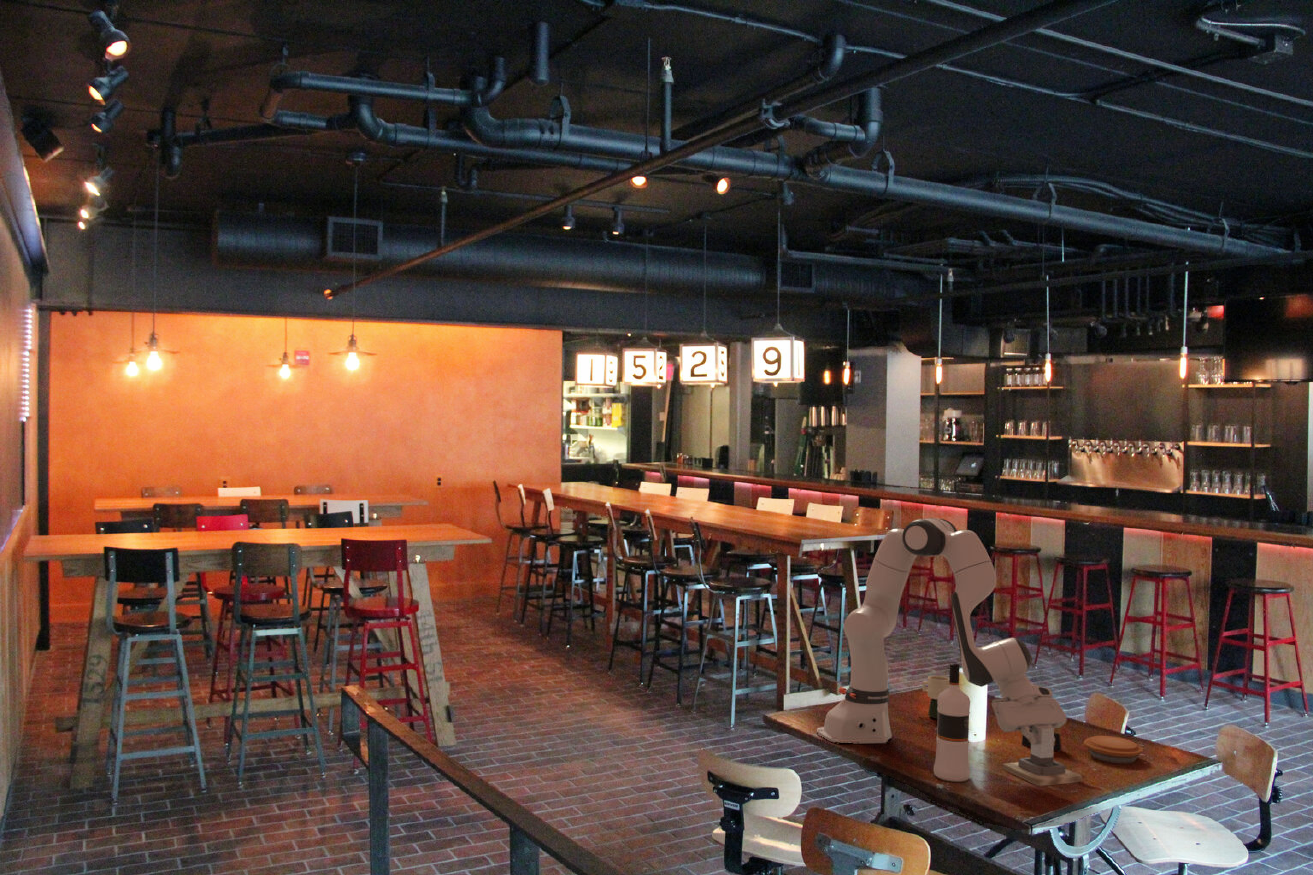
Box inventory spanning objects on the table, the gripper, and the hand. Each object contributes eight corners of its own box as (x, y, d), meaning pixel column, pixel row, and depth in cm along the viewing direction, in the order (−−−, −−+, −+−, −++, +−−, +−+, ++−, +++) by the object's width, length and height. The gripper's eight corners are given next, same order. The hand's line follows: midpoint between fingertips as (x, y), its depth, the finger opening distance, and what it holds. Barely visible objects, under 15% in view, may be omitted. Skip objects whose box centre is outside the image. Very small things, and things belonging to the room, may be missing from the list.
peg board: (1038, 786, 258) (1038, 772, 258) (1002, 769, 271) (1003, 756, 271) (1081, 781, 263) (1081, 768, 263) (1044, 765, 276) (1044, 752, 276)
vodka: (929, 770, 268) (932, 659, 268) (964, 771, 268) (967, 660, 268) (938, 782, 259) (942, 666, 259) (974, 783, 259) (977, 667, 259)
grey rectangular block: (1040, 766, 265) (1041, 729, 265) (1030, 762, 268) (1031, 725, 268) (1053, 765, 266) (1054, 728, 266) (1042, 760, 270) (1043, 724, 270)
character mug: (958, 718, 322) (959, 678, 322) (951, 723, 316) (952, 682, 316) (925, 712, 328) (926, 673, 328) (918, 717, 322) (919, 677, 322)
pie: (1136, 752, 291) (1137, 735, 291) (1148, 769, 276) (1148, 751, 276) (1079, 747, 295) (1080, 730, 295) (1087, 762, 280) (1088, 744, 280)
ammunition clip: (1021, 744, 295) (1022, 704, 295) (1023, 743, 297) (1024, 703, 297) (1060, 751, 289) (1061, 710, 289) (1061, 750, 291) (1062, 709, 291)
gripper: (994, 693, 270) (1018, 739, 261) (1055, 689, 277) (1080, 734, 268) (983, 705, 275) (1006, 751, 265) (1043, 700, 281) (1067, 745, 272)
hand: (1044, 742), depth 267 cm, fingers closed on grey rectangular block, 4 cm apart
